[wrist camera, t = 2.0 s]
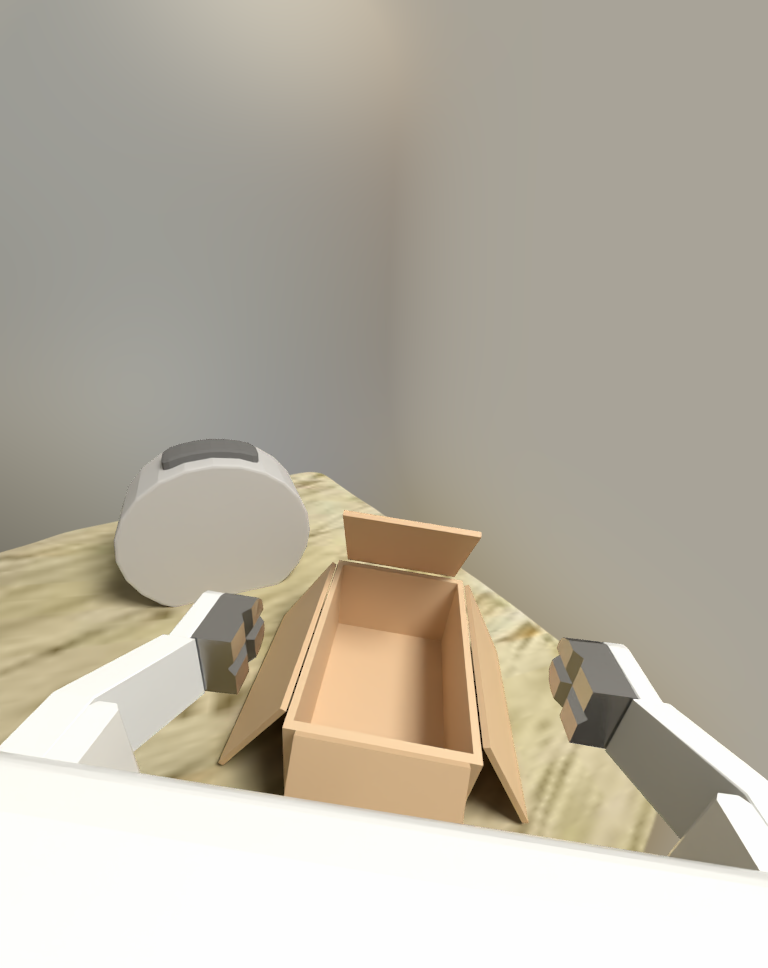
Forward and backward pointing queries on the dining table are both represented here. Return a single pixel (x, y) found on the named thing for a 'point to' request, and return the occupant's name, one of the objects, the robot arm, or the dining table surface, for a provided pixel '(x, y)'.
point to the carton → (384, 695)
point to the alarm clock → (209, 523)
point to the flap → (407, 543)
